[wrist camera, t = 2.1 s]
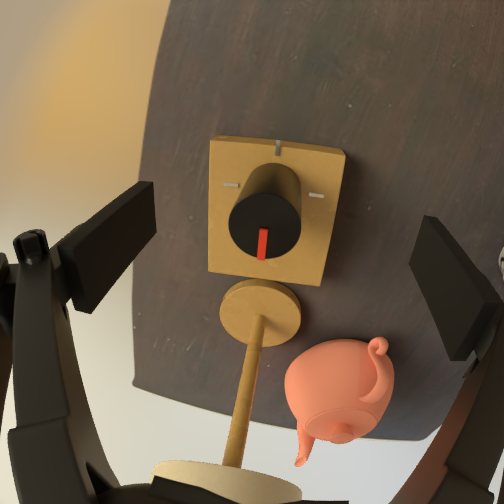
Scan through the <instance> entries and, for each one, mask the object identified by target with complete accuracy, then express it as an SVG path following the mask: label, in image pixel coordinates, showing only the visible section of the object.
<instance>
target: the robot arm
mask: <svg viewBox="0 0 504 504" xmlns="http://www.w3.org/2000/svg"><path fill="white" fill-rule="evenodd" d="M156 232H157V231H156V219H155V204H154V188H153V182H146V181H139V182H137V183H136V184H135V185H133V186H132V187H131V188H129V189H128V190H126V191H125V192H124V193H122V194H121V195H120V196H118V197H117V198H116V199H114V200H113V201H112V202H110V203H109V204H108V205H106V206H105V207H104V208H103V209H101V210H100V211H99V212H97V213H96V214H95V215H94V216H92V217H91V218H90V219H89V220H88V221H86V222H85V223H82V224H81V225H78V226H76V227H75V228H74V229H73V230H72V231H71V232H70V233H68V234H67V235H66V236H64V238H62V239H61V240H60V241H58V242H57V243H56V244H55V245H54V246H53V247H51V248H50V249H49V247H48V243H47V239H46V235H45V232H44V231H43V230H41V229H40V230H39V229H35V230H29V231H27V232H24V233H22V234H20V235H18V236H17V237H16V238H15V239H14V241H13V246H14V249H15V252H16V255H17V259H18V262H19V264H9V263H8V260H7V257H6V255H5V254H4V253H0V432H1V425H2V418H3V411H4V404H5V399H6V393H7V388H8V382H9V378H10V373H11V368H12V364H13V386H14V400H15V412H16V420H17V426H16V428H14V429H10V430H9V432H8V448H9V455H10V461H11V466H12V472H13V477H14V482H15V486H16V491H17V495H18V500H19V503H20V504H240V503H238V502H235V501H232V500H230V499H228V498H225V497H223V496H220V495H218V494H216V493H213V492H211V491H209V490H207V489H204V488H202V487H199V486H195V485H190V484H186V483H182V482H178V481H174V480H171V479H167V478H163V477H160V476H156V475H154V478H153V481H152V484H149V483H144V484H131V485H124V486H120V484H119V482H118V480H117V478H116V476H115V475H114V473H113V471H112V469H111V468H110V466H109V464H108V461H107V459H106V456H105V453H104V451H103V448H102V445H101V442H100V439H99V437H98V434H97V430H96V427H95V424H94V421H93V418H92V415H91V412H90V408H89V404H88V401H87V397H86V394H85V390H84V386H83V382H82V378H81V374H80V370H79V365H78V361H77V357H76V352H75V347H74V342H73V336H72V331H71V326H70V320H69V313H68V309H67V306H66V303H67V302H68V301H69V299H70V298H71V299H72V302H73V305H74V308H75V310H77V311H81V312H84V313H88V314H92V312H93V311H94V310H95V308H96V307H97V306H98V304H99V303H100V301H101V300H102V299H103V298H104V296H105V295H106V294H107V293H108V291H109V290H110V289H111V287H112V286H113V285H114V284H115V282H116V281H117V280H118V278H119V277H120V276H121V275H122V273H123V272H124V271H125V270H126V269H127V267H128V266H129V265H130V263H131V262H132V261H133V260H134V259H135V257H136V256H137V255H138V254H139V253H140V251H141V250H142V249H143V248H144V247H145V245H146V244H147V243H148V242H149V241H150V239H151V238H152V237H153V236H154V235H155V234H156ZM409 266H410V268H411V270H412V272H413V274H414V276H415V278H416V280H417V282H418V285H419V287H420V289H421V291H422V293H423V295H424V298H425V300H426V302H427V304H428V307H429V309H430V311H431V314H432V316H433V318H434V321H435V323H436V326H437V328H438V331H439V333H440V336H441V338H442V341H443V343H444V346H445V348H446V351H447V354H448V356H449V359H450V361H466V360H467V358H468V357H469V355H470V354H471V352H472V351H473V349H474V351H475V353H476V355H477V357H476V358H475V360H474V361H473V363H472V364H471V366H470V367H469V369H468V370H467V371H466V373H465V374H464V376H463V378H465V377H466V378H465V381H464V383H463V385H462V387H461V389H460V391H459V393H458V395H457V397H456V399H455V401H454V403H453V405H452V407H451V409H450V411H449V413H448V415H447V417H446V419H445V420H444V422H443V424H442V426H441V428H440V430H439V431H438V433H437V435H436V436H435V438H434V440H433V441H432V443H431V445H430V446H429V448H428V449H427V451H426V453H425V454H424V456H423V457H422V459H421V460H420V462H419V464H418V465H417V466H416V468H415V470H414V471H413V473H412V474H411V475H410V477H409V478H408V479H407V481H406V482H405V484H404V485H403V486H402V488H401V489H400V490H399V492H398V493H397V494H396V496H395V497H394V498H393V499H392V501H391V502H390V503H389V504H493V501H494V493H492V492H490V491H488V488H489V485H490V482H491V480H492V477H493V475H494V473H495V470H496V468H497V465H498V463H499V460H500V457H501V455H502V452H503V449H504V302H503V301H502V299H501V298H500V296H499V295H498V293H497V292H495V289H494V288H493V286H491V283H490V282H489V280H488V279H487V278H486V276H485V275H483V274H482V273H481V272H480V271H479V270H478V269H477V268H476V266H475V265H474V264H473V262H472V261H471V260H470V258H469V257H468V256H467V254H466V253H465V252H464V250H463V249H462V248H461V246H460V245H459V244H458V243H457V241H456V240H455V239H454V238H453V236H452V235H451V234H450V233H449V231H448V230H447V229H446V228H445V227H444V225H443V224H442V223H441V222H440V221H439V219H438V218H436V217H431V216H426V215H424V217H423V220H422V224H421V227H420V230H419V234H418V237H417V240H416V243H415V246H414V250H413V253H412V256H411V259H410V262H409ZM281 504H349V501H310V500H300V501H294V502H288V503H281ZM497 504H504V470H503V476H502V482H501V487H500V492H499V497H498V501H497Z"/></svg>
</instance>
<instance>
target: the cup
mask: <svg viewBox="0 0 504 504" xmlns="http://www.w3.org/2000/svg"><path fill="white" fill-rule="evenodd" d="M499 267H500V270H501V274H502V277H503V281H504V247H503V249H502V251H501V253H500V256H499Z"/></svg>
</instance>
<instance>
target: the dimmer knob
mask: <svg viewBox="0 0 504 504" xmlns="http://www.w3.org/2000/svg"><path fill="white" fill-rule="evenodd" d="M228 228H229V233H230V236H231V238H232V240H233V241H234V243H235V244H236V245H237V247H238V248H239V249H241V250H242V251H243V252H245V253H246V254H248V255H250V256H253V257H256V258H257V260H261V261H265V259H272V258H277V257H280V256H283V255H284V254H286V253H288V252H289V251H290V250H292V249H293V248H294V246H295V245H296V244H297V242H298V240H299V238H300V234H301V184H300V181H299V178H298V177H297V175H296V174H295V173H294V171H293V170H291V169H290V168H289V167H287V166H285V165H282V164H279V163H266V164H263V165H261V166H259V167H257V168H256V169H254V170H253V171H252V172H251V174H250V175H249V177H248V179H247V181H246V183H245V185H244V187H243V189H242V191H241V193H240V194H239V196H238V198H237V200H236V202H235V204H234V206H233V208H232V210H231V213H230V215H229V220H228Z"/></svg>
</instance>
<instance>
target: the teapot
mask: <svg viewBox="0 0 504 504" xmlns="http://www.w3.org/2000/svg"><path fill="white" fill-rule="evenodd" d="M387 349H388V342H387V340H386V339H385V338H384V337H376V338H374V339H372V340H371V341H370V343H366V342H363V341H359V340H354V339H335V340H329V341H326V342H322V343H320V344H317V345H315V346H313V347H311V348H309V349H308V350H306V351H305V352H303V353H302V354H301V355H299V356H298V357H297V358H296V359H295V360H294V361H293V362H292V363H291V365H290V366H289V368H288V370H287V372H286V375H285V393H286V397H287V401H288V404H289V407H290V409H291V411H292V413H293V414H294V416H295V417H296V419H297V432H298V439H299V452H298V456H297V459H296V461H295V466H296V467H299V466H302V465H303V464H304V463H305V462H306V461H307V459H308V457H309V455H310V452H311V450H312V447H313V444H314V441H315V438H317V439H320V440H325V441H330V442H332V443H335V444H344V443H348V442H350V441H352V440H353V439H356V438H359V437H361V436H363V435H365V434H367V433H369V432H370V431H371V430H372V429H373V428H374V427H375V426H376V425H377V423H378V422H379V421H380V419H381V417H382V415H383V414H384V412H385V410H386V408H387V406H388V404H389V401H390V399H391V395H392V392H393V386H394V369H393V364H392V362H391V360H390V358H389V357H388V356H387V355H386V351H387Z"/></svg>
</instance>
